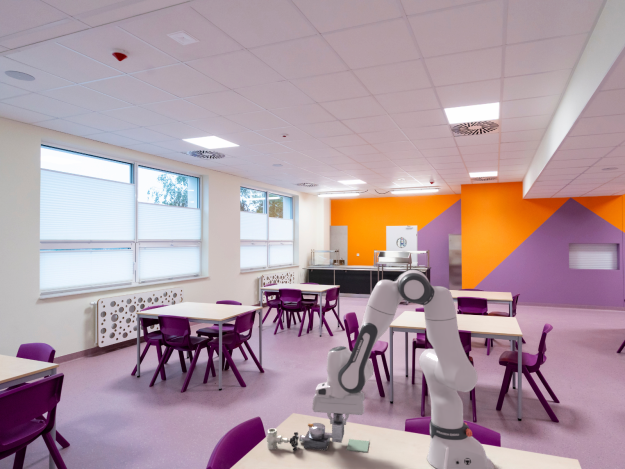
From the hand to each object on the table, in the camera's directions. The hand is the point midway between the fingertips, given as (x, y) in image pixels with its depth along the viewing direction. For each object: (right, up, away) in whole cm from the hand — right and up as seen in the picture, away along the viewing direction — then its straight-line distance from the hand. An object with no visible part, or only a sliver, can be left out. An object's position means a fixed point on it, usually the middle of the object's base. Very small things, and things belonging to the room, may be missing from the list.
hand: (338, 423), depth 154 cm
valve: (-22, -9, -2) cm, 24 cm away
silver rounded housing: (-5, -5, +1) cm, 7 cm away
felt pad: (+8, -9, 0) cm, 12 cm away
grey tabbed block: (0, -4, 0) cm, 4 cm away
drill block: (-10, -9, +2) cm, 13 cm away
